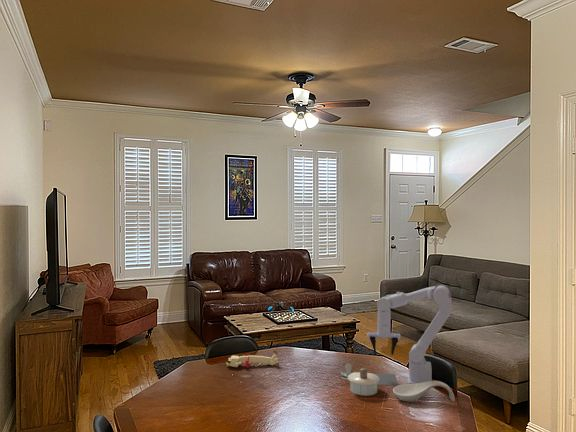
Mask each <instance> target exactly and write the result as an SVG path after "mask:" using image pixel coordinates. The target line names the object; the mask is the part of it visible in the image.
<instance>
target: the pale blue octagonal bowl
mask: <svg viewBox="0 0 576 432" xmlns="http://www.w3.org/2000/svg"><path fill="white" fill-rule="evenodd" d="M349 389H350V390H349V391H350V392H351V393H352V394H354V395H359V396H373V395H375V394H377V393H378V385H377V383H376V384H371V385H361V384H355V383H352V382H350V381H349Z"/></svg>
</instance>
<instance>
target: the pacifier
mask: <svg viewBox="0 0 576 432" xmlns="http://www.w3.org/2000/svg"><path fill="white" fill-rule="evenodd" d="M344 369H345V372H343V371H339V373H340V374H341V378H342V379H343V380H348V375H350V374H352V373H357V371H355V372H352V369H353V366H352V364H350V363H346V364H345V366H344Z"/></svg>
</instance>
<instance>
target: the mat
mask: <svg viewBox="0 0 576 432" xmlns="http://www.w3.org/2000/svg"><path fill="white" fill-rule="evenodd" d="M370 373H371V374H375V375H377V376H378V377H379V378H380V380H379V382H378V383H377V386H399V382H398V380H397V376H396V374H395V373H381V372H380V373H377V372H376V373H375V372H370Z"/></svg>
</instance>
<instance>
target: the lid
mask: <svg viewBox="0 0 576 432" xmlns="http://www.w3.org/2000/svg"><path fill="white" fill-rule="evenodd" d="M356 372H357V371H356ZM351 373H352V374H350V375H348V377H347V378H348V379H347V381H349V383H350V382H352V383H355V384H361V385H371V384H376V383H378V382H379V380H380V378H379V377H378V376H377V375H375V374H371V373H372V372H368V368H365V367H361V368H360V369H359V372H357V373H353V372H351Z"/></svg>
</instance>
